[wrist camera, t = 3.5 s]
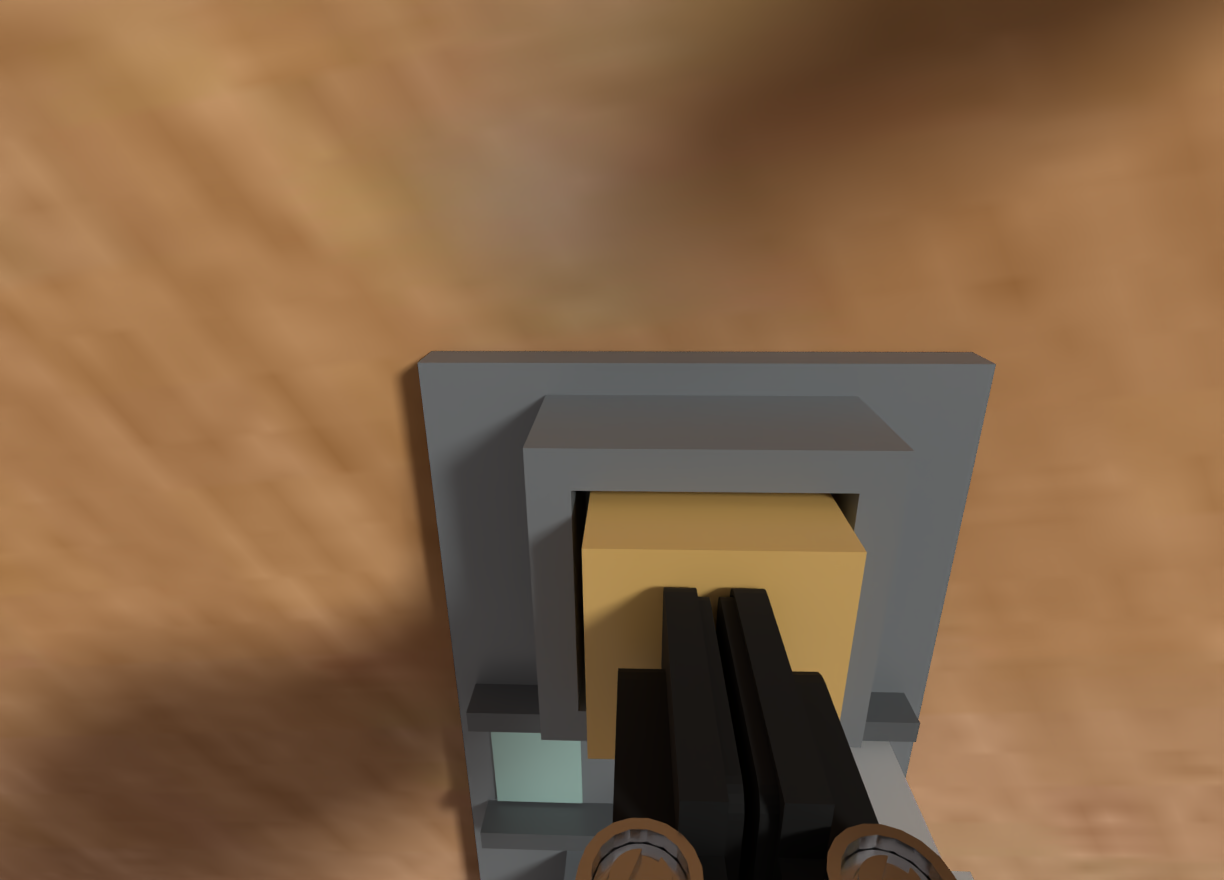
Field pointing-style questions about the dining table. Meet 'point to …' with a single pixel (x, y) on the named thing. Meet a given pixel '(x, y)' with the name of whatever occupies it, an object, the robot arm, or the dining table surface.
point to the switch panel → (671, 462)
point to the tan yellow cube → (713, 580)
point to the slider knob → (893, 793)
